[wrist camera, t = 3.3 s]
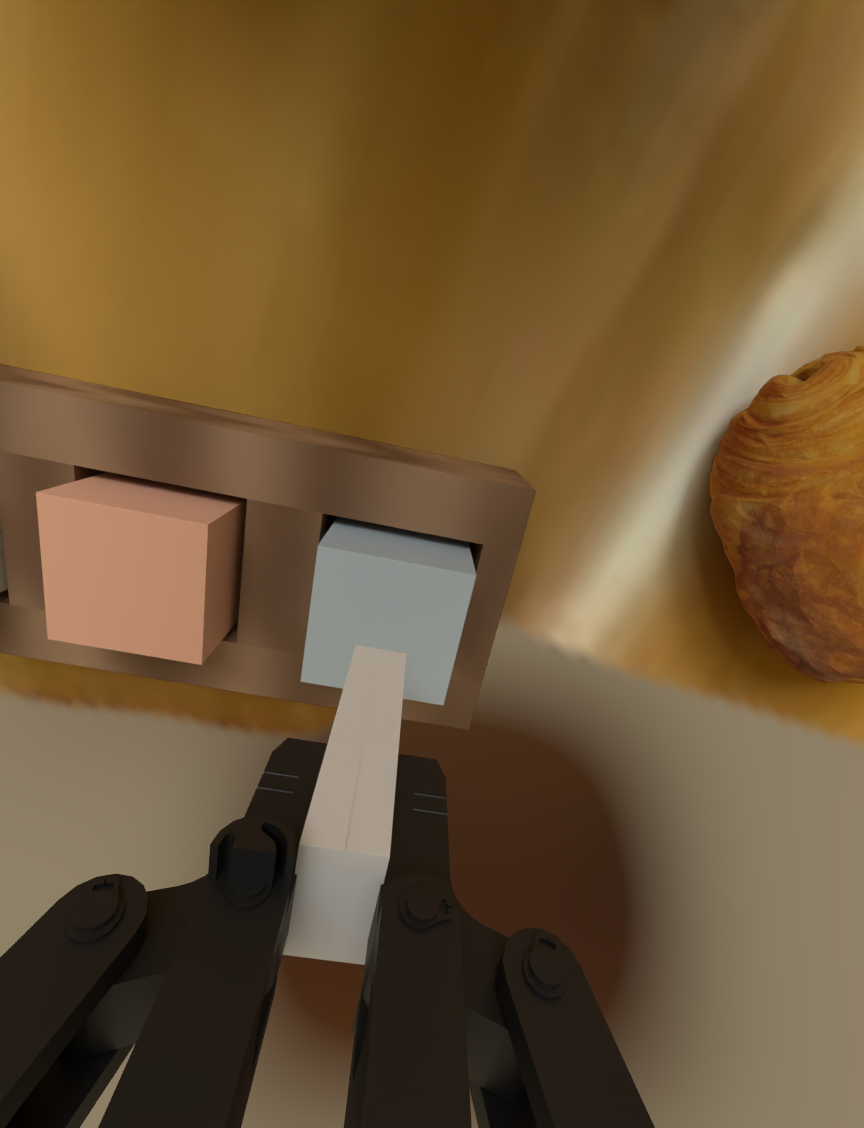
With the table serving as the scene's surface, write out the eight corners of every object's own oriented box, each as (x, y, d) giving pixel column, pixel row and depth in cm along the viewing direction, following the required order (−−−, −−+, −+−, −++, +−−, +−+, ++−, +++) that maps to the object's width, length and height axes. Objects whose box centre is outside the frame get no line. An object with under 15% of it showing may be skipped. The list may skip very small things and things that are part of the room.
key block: (-73, 580, 24) (-181, 623, 20) (-114, 340, 20) (-258, 329, 16) (462, 673, 26) (468, 729, 22) (515, 470, 22) (535, 491, 18)
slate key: (324, 625, 22) (300, 681, 18) (340, 512, 20) (317, 545, 16) (440, 646, 22) (443, 705, 18) (467, 536, 21) (476, 575, 16)
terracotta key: (121, 589, 21) (47, 639, 17) (118, 469, 20) (36, 491, 15) (244, 611, 22) (201, 664, 18) (253, 495, 20) (207, 524, 16)
